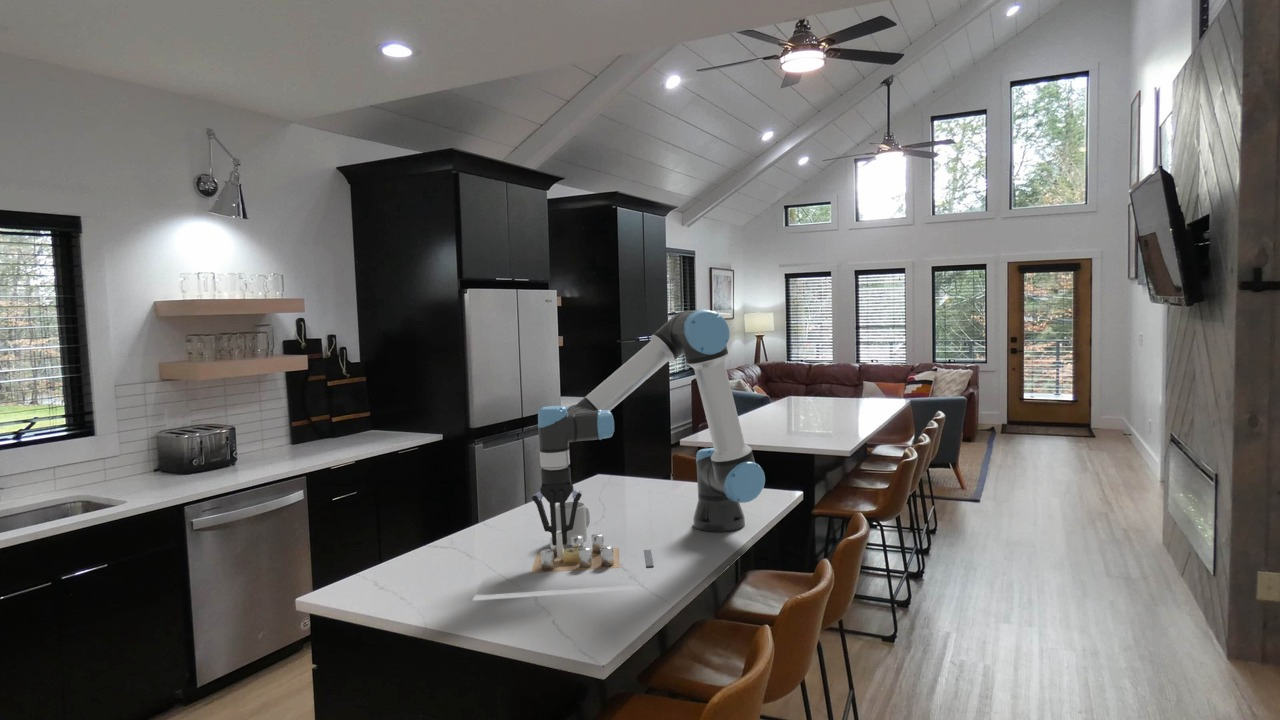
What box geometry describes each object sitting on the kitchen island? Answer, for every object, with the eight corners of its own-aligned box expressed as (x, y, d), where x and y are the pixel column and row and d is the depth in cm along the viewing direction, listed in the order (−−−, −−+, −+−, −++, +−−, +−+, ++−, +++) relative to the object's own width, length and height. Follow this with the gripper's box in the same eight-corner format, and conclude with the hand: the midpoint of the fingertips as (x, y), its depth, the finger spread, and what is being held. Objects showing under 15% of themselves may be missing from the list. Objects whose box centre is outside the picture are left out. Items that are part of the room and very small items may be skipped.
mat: (650, 550, 202) (650, 549, 202) (653, 567, 189) (653, 565, 189) (621, 552, 202) (620, 551, 202) (621, 569, 189) (621, 567, 189)
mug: (574, 550, 206) (572, 510, 206) (551, 546, 211) (548, 507, 211) (601, 538, 216) (599, 500, 216) (578, 534, 221) (575, 497, 220)
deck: (619, 551, 203) (618, 547, 203) (619, 571, 187) (619, 567, 187) (537, 556, 202) (537, 552, 202) (531, 577, 186) (531, 573, 186)
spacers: (613, 549, 202) (612, 532, 202) (614, 566, 188) (613, 548, 188) (545, 553, 202) (544, 536, 201) (541, 571, 187) (540, 553, 187)
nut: (581, 557, 197) (580, 547, 197) (580, 562, 192) (579, 552, 192) (564, 558, 197) (563, 548, 196) (563, 563, 192) (562, 553, 192)
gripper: (581, 462, 197) (586, 550, 198) (531, 465, 196) (536, 554, 198) (580, 468, 189) (585, 560, 191) (528, 471, 189) (534, 563, 190)
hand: (560, 556), depth 194 cm, fingers closed
